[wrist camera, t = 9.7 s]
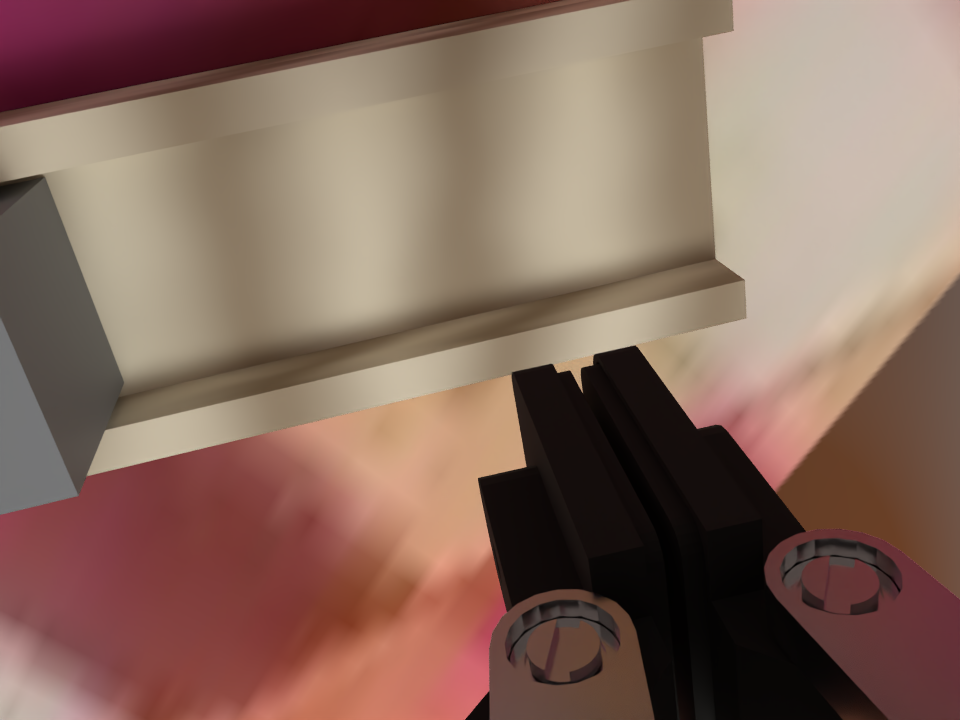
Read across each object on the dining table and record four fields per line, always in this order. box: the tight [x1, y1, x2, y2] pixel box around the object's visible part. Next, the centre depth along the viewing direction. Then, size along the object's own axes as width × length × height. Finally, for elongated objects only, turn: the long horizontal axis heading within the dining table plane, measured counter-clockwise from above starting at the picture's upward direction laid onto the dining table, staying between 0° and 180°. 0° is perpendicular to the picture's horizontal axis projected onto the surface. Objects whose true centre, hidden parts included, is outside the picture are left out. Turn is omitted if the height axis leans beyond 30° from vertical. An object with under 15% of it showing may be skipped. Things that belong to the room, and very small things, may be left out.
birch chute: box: [0, 0, 746, 476], centre depth 25 cm, size 26×9×4 cm, turn 100°
